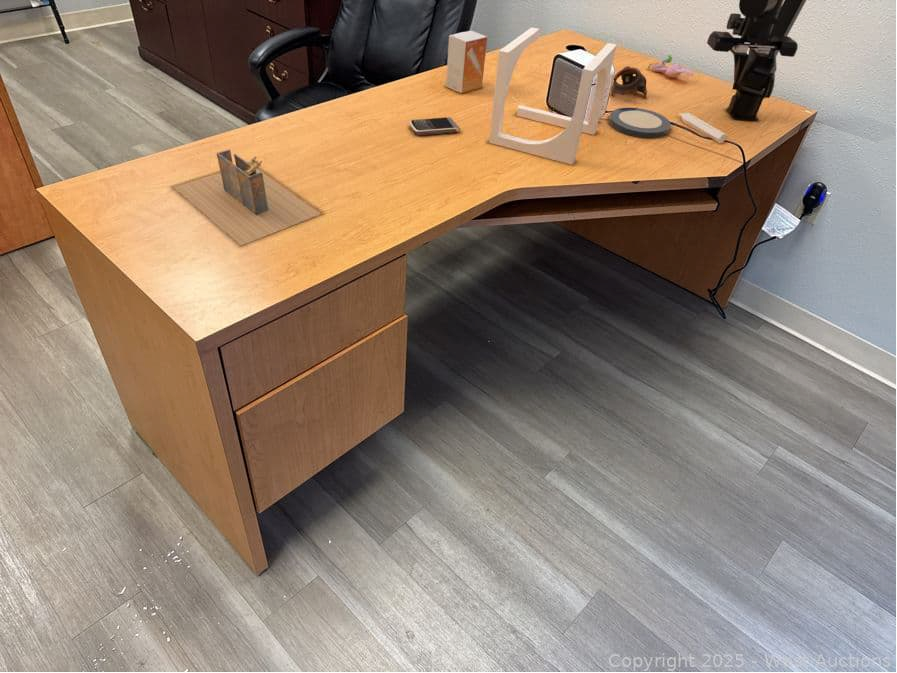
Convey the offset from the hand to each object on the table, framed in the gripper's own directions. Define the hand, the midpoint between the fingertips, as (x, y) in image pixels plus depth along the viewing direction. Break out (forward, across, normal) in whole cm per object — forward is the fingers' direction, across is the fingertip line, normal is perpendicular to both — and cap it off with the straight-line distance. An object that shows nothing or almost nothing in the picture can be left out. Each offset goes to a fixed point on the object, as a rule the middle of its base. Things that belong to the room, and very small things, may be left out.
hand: (737, 82), depth 142 cm
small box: (+12, +64, -17) cm, 68 cm away
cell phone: (+12, +72, +11) cm, 73 cm away
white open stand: (+12, +46, +11) cm, 48 cm away
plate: (+12, +20, 0) cm, 24 cm away
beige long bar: (+12, +5, 0) cm, 13 cm away
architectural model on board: (+12, +106, +48) cm, 117 cm away
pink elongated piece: (+12, +3, -37) cm, 39 cm away
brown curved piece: (+12, +20, -20) cm, 30 cm away
